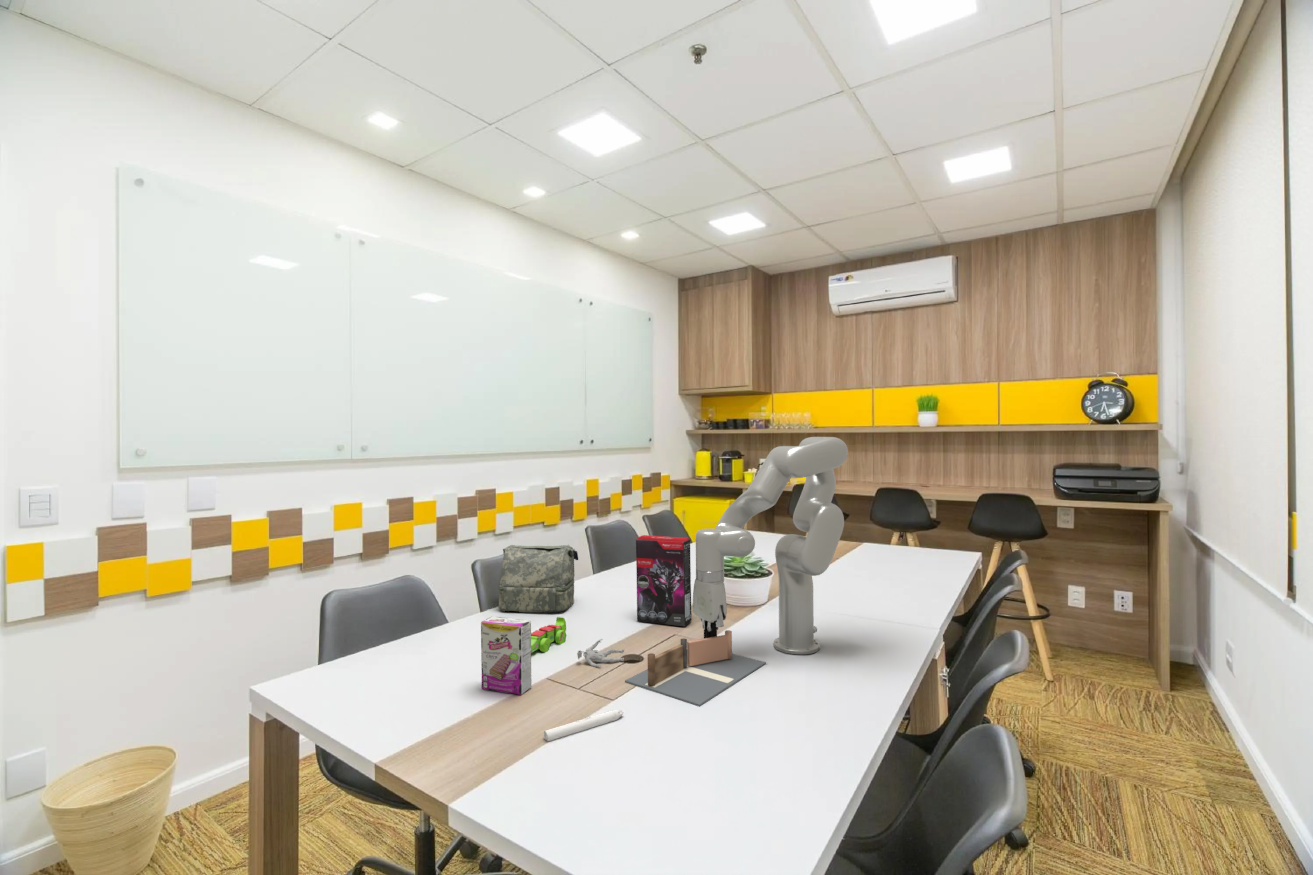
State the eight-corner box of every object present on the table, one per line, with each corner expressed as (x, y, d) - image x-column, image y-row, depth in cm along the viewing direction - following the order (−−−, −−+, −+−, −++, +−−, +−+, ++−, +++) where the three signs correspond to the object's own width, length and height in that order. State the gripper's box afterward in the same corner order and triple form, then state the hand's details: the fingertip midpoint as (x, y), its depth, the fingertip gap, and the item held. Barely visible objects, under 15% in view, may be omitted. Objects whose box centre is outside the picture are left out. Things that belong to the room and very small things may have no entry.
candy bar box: (480, 690, 144) (479, 621, 144) (492, 682, 149) (491, 615, 149) (521, 696, 140) (520, 625, 140) (532, 687, 145) (531, 619, 145)
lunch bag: (582, 601, 220) (581, 541, 220) (566, 616, 202) (565, 550, 202) (514, 598, 225) (513, 539, 224) (493, 612, 207) (492, 549, 206)
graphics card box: (635, 622, 195) (634, 537, 194) (643, 616, 201) (643, 534, 201) (685, 628, 188) (684, 540, 188) (692, 621, 194) (691, 537, 194)
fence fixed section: (682, 665, 156) (682, 637, 156) (688, 667, 155) (688, 639, 155) (646, 684, 145) (646, 654, 145) (652, 686, 144) (651, 656, 144)
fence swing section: (690, 666, 155) (689, 639, 155) (686, 664, 157) (686, 637, 157) (733, 658, 161) (733, 631, 160) (729, 655, 162) (729, 629, 162)
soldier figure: (624, 670, 158) (581, 661, 154) (617, 677, 161) (574, 669, 157) (625, 642, 164) (583, 633, 160) (618, 650, 167) (577, 641, 163)
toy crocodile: (532, 659, 163) (532, 637, 163) (513, 655, 166) (512, 633, 166) (574, 637, 181) (574, 617, 181) (556, 634, 184) (556, 614, 184)
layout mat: (696, 646, 172) (696, 644, 172) (766, 663, 159) (766, 661, 159) (624, 681, 148) (624, 680, 148) (699, 706, 134) (699, 704, 134)
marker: (621, 715, 131) (621, 704, 131) (626, 718, 129) (626, 707, 129) (543, 739, 121) (543, 727, 121) (547, 743, 119) (547, 731, 119)
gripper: (683, 571, 166) (683, 638, 166) (714, 583, 153) (715, 655, 153) (705, 568, 170) (706, 633, 170) (738, 579, 157) (738, 650, 157)
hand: (710, 644), depth 162 cm, fingers closed
